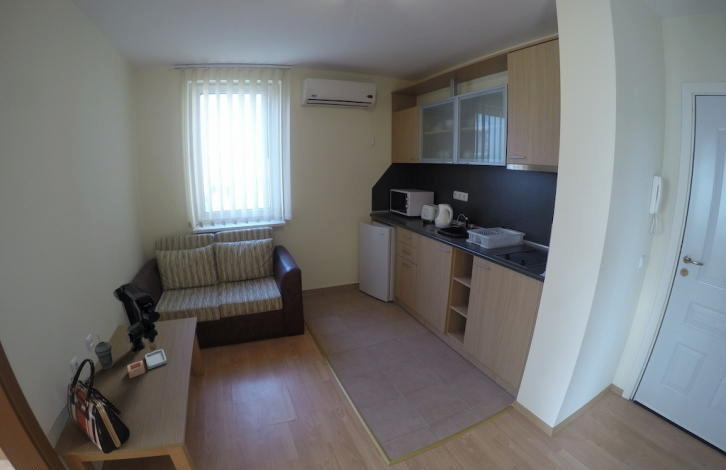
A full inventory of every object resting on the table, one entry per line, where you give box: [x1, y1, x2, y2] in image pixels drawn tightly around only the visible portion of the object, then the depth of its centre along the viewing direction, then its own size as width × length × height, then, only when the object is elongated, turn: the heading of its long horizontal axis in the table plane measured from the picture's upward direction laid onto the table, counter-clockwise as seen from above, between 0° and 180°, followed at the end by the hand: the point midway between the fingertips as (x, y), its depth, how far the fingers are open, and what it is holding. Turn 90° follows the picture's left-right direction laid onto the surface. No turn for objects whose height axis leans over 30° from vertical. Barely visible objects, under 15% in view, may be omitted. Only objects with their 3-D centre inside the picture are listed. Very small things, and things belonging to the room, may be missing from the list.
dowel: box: [147, 338, 158, 352], centre depth 176 cm, size 3×3×10 cm
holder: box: [127, 359, 146, 379], centre depth 169 cm, size 7×7×4 cm
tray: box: [144, 348, 168, 370], centre depth 179 cm, size 14×9×2 cm, turn 40°
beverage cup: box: [94, 334, 114, 370], centre depth 172 cm, size 7×7×20 cm
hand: (151, 341), depth 176 cm, fingers closed on dowel, 3 cm apart
